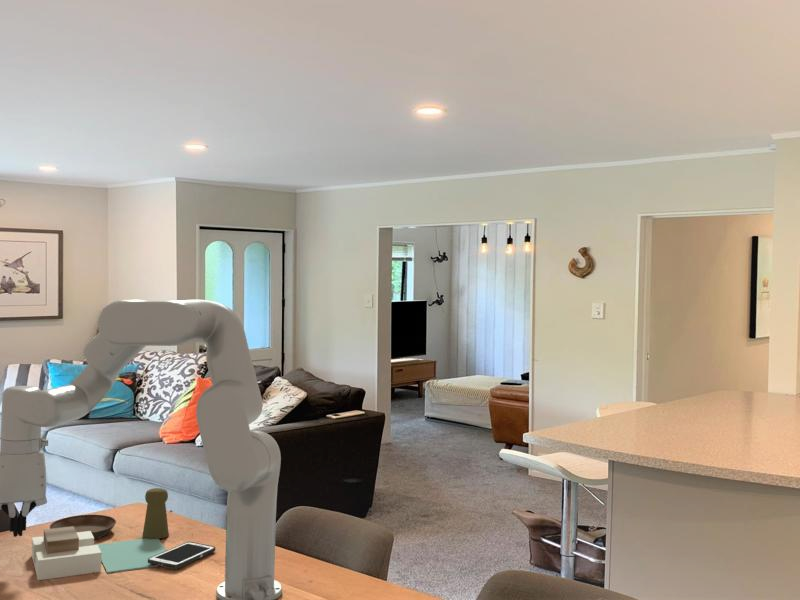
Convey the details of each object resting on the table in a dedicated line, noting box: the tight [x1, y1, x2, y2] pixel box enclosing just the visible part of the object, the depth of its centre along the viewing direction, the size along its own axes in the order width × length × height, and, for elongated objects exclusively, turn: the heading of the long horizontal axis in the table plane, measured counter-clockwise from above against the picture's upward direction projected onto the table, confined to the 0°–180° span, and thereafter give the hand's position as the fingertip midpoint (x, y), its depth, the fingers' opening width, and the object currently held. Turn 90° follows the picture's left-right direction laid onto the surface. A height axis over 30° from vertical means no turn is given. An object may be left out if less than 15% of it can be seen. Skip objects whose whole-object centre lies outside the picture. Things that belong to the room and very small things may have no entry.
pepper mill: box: [142, 487, 170, 539], centre depth 191 cm, size 6×6×11 cm
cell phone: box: [148, 541, 216, 570], centre depth 176 cm, size 8×15×1 cm, turn 158°
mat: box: [95, 538, 168, 574], centre depth 178 cm, size 19×14×1 cm
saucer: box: [48, 514, 117, 540], centre depth 192 cm, size 15×15×3 cm
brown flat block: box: [43, 526, 79, 554], centre depth 171 cm, size 9×6×2 cm, turn 29°
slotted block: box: [31, 531, 102, 581], centre depth 171 cm, size 16×12×4 cm
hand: (17, 534), depth 167 cm, fingers closed
